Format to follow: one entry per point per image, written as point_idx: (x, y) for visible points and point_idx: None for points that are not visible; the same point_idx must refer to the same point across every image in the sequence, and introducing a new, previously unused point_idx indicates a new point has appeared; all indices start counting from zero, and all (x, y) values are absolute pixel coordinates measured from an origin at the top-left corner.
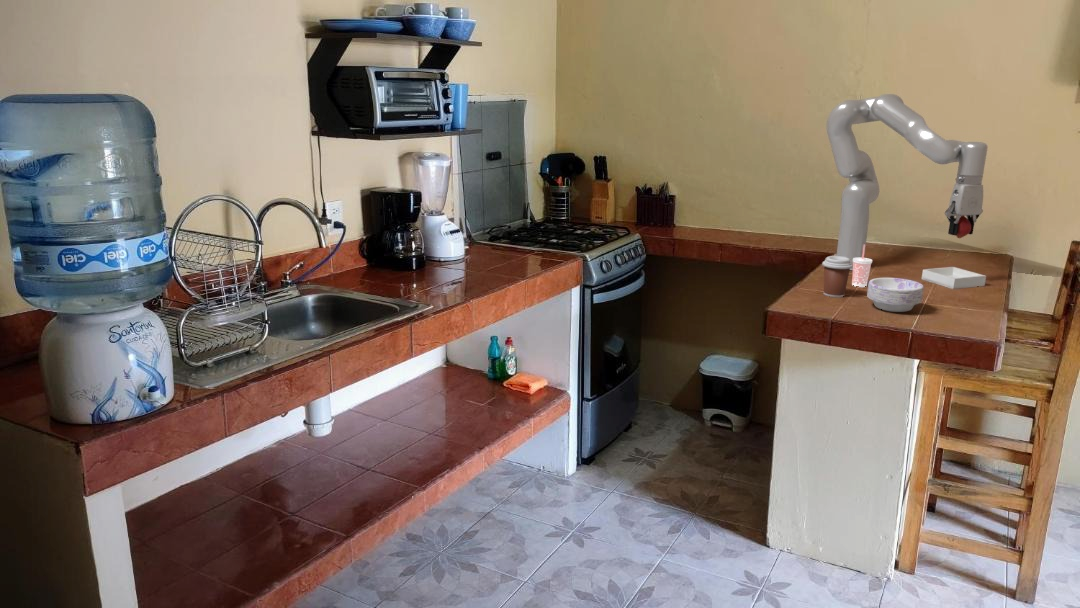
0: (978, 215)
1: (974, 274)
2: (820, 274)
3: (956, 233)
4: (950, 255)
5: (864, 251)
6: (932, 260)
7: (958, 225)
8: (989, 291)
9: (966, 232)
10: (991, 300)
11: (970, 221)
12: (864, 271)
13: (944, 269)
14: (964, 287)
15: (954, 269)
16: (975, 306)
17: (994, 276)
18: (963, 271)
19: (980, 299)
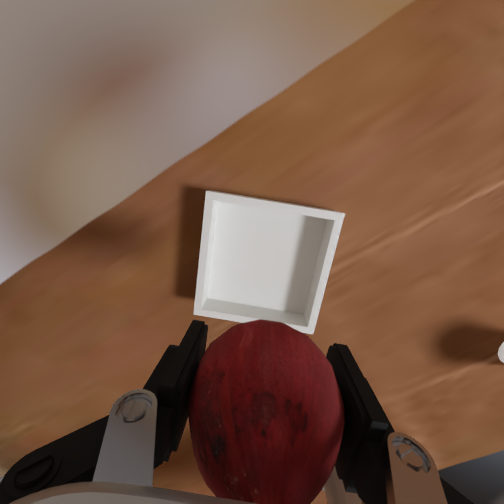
0: (27, 475)
1: (210, 231)
2: (482, 449)
3: (346, 352)
4: (16, 423)
5: (357, 494)
6: (102, 415)
7: (366, 405)
8: (260, 140)
9: (282, 324)
10: (364, 58)
11: (168, 424)
12: None
13: (237, 313)
14: (291, 203)
15: (202, 302)
16: (491, 29)
17: (86, 247)
18: (205, 272)
19: (383, 85)
